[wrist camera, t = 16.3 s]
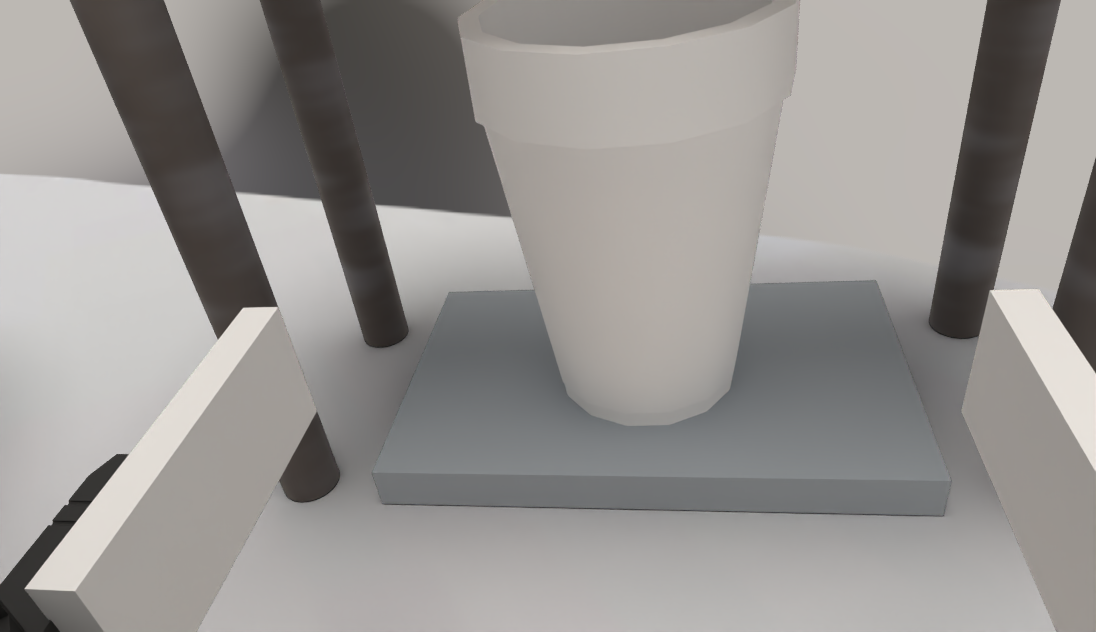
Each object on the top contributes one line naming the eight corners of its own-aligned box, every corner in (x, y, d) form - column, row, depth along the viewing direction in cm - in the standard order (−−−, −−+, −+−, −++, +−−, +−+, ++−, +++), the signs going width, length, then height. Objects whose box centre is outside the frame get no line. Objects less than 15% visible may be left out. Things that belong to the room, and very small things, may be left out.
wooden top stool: (274, 501, 28) (-240, -644, 13) (372, 321, 37) (134, -481, 22) (1088, 518, 23) (1764, -1227, 8) (976, 308, 32) (1203, -720, 17)
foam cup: (564, 289, 34) (523, -30, 27) (787, 306, 31) (808, -47, 24) (484, 440, 27) (399, 59, 20) (763, 479, 24) (784, 49, 17)
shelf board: (382, 503, 27) (371, 472, 26) (455, 319, 36) (448, 292, 35) (943, 515, 24) (951, 481, 23) (872, 310, 33) (876, 280, 32)
